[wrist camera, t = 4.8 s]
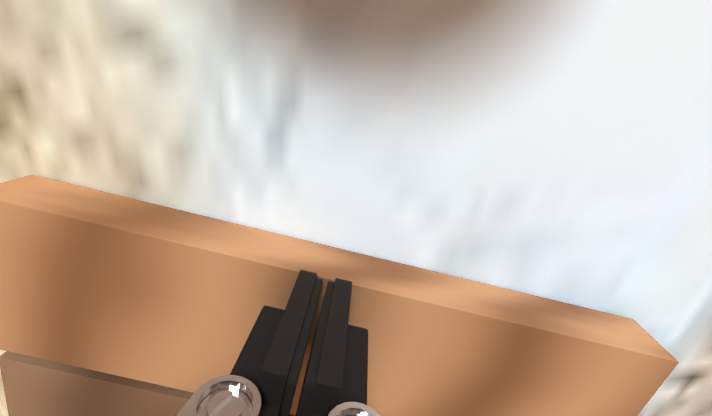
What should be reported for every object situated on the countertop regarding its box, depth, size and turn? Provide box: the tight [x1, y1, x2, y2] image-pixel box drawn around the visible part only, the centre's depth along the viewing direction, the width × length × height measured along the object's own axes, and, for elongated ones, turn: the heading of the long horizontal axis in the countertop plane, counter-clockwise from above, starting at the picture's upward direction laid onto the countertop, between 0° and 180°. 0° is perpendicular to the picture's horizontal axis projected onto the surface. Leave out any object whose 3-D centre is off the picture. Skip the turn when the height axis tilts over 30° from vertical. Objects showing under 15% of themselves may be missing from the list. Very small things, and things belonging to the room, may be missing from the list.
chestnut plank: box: [0, 175, 679, 416], centre depth 12 cm, size 22×6×2 cm, turn 76°
